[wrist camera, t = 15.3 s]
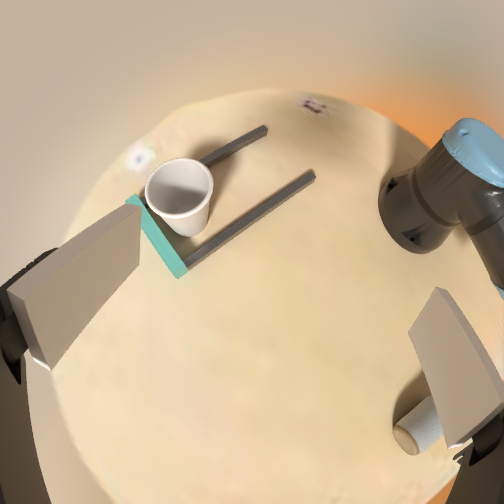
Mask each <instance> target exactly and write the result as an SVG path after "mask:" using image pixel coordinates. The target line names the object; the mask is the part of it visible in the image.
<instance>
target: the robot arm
mask: <svg viewBox="0 0 504 504" xmlns="http://www.w3.org/2000/svg"><path fill="white" fill-rule="evenodd" d="M379 212H380V216H381V219H382V221H383V224H384V226H385V228H386V229H387V231H388V233H389V234H390V235H391V237H392V238H393V239H394V240H395V241H396V242H397V243H398V244H399V245H400V246H401V247H403V248H404V249H406V250H408V251H410V252H413V253H416V254H426V253H429V252H431V251H433V250H435V249H436V248H438V247H439V246H440V245H442V243H443V242H444V241H445V240H446V238H447V237H448V235H449V234H450V232H451V231H452V230H453V228H454V227H455V226H456V225H457V224H459V223H460V222H461V223H462V225H463V226H464V228H465V230H466V231H467V233H468V235H469V237H470V238H471V240H472V242H473V244H474V245H475V247H476V249H477V251H478V253H479V255H480V257H481V259H482V261H483V263H484V265H485V267H486V269H487V271H488V273H489V275H490V279H491V281H492V282H493V284H494V286H495V287H496V288H497V290H498V292H499V294H500V296H501V297H502V299H503V300H504V140H503V139H502V138H501V137H500V136H499V135H498V134H497V133H496V132H495V131H494V130H493V129H492V128H490V127H489V126H487V125H486V124H484V123H482V122H481V121H478V120H476V119H473V118H463V119H460V120H459V121H457V123H456V124H454V125H453V126H452V127H451V128H450V129H449V130H447V131H445V133H444V134H443V136H442V138H441V139H440V140H439V142H438V143H437V144H436V145H435V146H434V147H433V148H432V149H431V150H430V151H429V152H428V154H427V155H426V156H425V157H424V158H423V159H422V160H421V161H420V162H419V163H418V164H417V165H416V166H415V167H414V168H411V169H409V170H406V171H403V172H401V173H398V174H396V175H394V176H393V177H391V178H390V179H389V180H388V181H387V182H386V183H385V185H384V186H383V187H382V189H381V191H380V194H379ZM141 215H142V207H141V206H137V205H133V204H129V203H126V204H124V205H122V206H121V207H119V208H117V209H116V210H114V211H113V212H111V213H109V214H108V215H106V216H105V217H103V218H102V219H100V220H99V221H97V222H96V223H94V224H92V225H91V226H89V227H88V228H86V229H85V230H84V231H82V232H81V233H79V234H78V235H76V236H75V237H73V238H72V239H71V240H69V241H68V242H66V243H65V244H63V245H62V246H61V247H59V248H54V249H52V250H49V251H46V252H44V253H43V254H41V255H40V256H39V257H38V258H36V259H35V260H34V262H31V263H29V264H28V265H27V266H26V268H23V269H22V270H21V271H19V272H18V273H17V274H15V275H14V276H13V277H12V278H11V279H9V280H8V281H7V282H6V283H5V284H3V285H2V286H1V287H0V504H51V501H50V498H49V495H48V492H47V489H46V486H45V483H44V479H43V476H42V472H41V469H40V465H39V461H38V457H37V452H36V448H35V443H34V438H33V432H32V426H31V421H30V412H29V405H28V395H27V381H26V362H25V357H24V355H23V354H24V352H25V351H26V350H27V349H28V348H29V351H30V353H31V355H32V357H33V359H34V361H36V362H37V363H39V364H40V365H42V366H43V367H45V368H47V369H48V370H50V371H52V369H53V368H54V367H55V365H56V364H57V363H58V361H59V360H60V359H61V357H62V356H63V355H64V353H65V352H66V351H67V349H68V348H69V347H70V346H71V344H72V343H73V342H74V340H75V339H76V338H77V337H78V335H79V334H80V333H81V332H82V330H83V329H84V328H85V327H86V325H87V324H88V323H89V322H90V320H91V319H92V318H93V317H94V316H95V314H96V313H97V312H98V311H99V310H100V308H101V307H102V306H103V305H104V304H105V302H106V301H107V300H108V299H109V298H110V297H111V296H112V294H113V293H114V292H115V291H116V290H117V289H118V287H119V286H120V285H121V284H122V283H123V282H124V281H125V280H126V278H127V277H128V276H129V275H130V274H131V273H132V272H133V271H134V270H135V268H136V267H137V266H138V265H139V255H140V231H141ZM408 334H409V336H410V338H411V341H412V343H413V346H414V348H415V351H416V353H417V356H418V358H419V361H420V363H421V366H422V369H423V371H424V374H425V377H426V380H427V382H428V385H429V388H430V391H431V394H432V397H433V400H434V403H435V406H436V409H437V413H438V416H439V419H440V423H441V426H442V430H443V433H444V437H445V441H446V445H447V449H448V448H453V447H458V446H461V445H462V444H463V443H465V442H466V441H467V440H469V439H470V438H471V437H472V440H473V442H472V443H471V444H470V445H468V446H467V447H466V448H464V449H463V450H462V451H460V452H459V453H458V454H456V455H455V456H454V457H453V460H455V459H457V458H458V457H460V456H463V457H462V458H460V459H459V460H458V461H457V462H458V463H459V464H461V466H460V469H459V472H458V475H457V477H456V480H455V482H454V485H453V487H452V490H451V492H450V494H449V497H448V499H447V501H446V503H445V504H504V383H503V381H502V379H501V377H500V375H499V373H498V371H497V369H496V367H495V366H494V364H493V362H492V360H491V358H490V356H489V355H488V353H487V351H486V349H485V348H484V346H483V344H482V343H481V341H480V339H479V338H478V336H477V334H476V333H475V331H474V329H473V328H472V326H471V325H470V323H469V322H468V320H467V319H466V317H465V315H464V314H463V312H462V311H461V309H460V308H459V307H458V305H457V304H456V302H455V301H454V299H453V298H452V296H451V295H450V294H449V292H448V291H447V290H445V289H442V288H439V287H435V289H434V291H433V293H432V294H431V296H430V298H429V300H428V301H427V303H426V305H425V306H424V308H423V309H422V311H421V313H420V314H419V316H418V317H417V319H416V321H415V322H414V324H413V325H412V327H411V328H410V330H409V331H408Z"/></svg>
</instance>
